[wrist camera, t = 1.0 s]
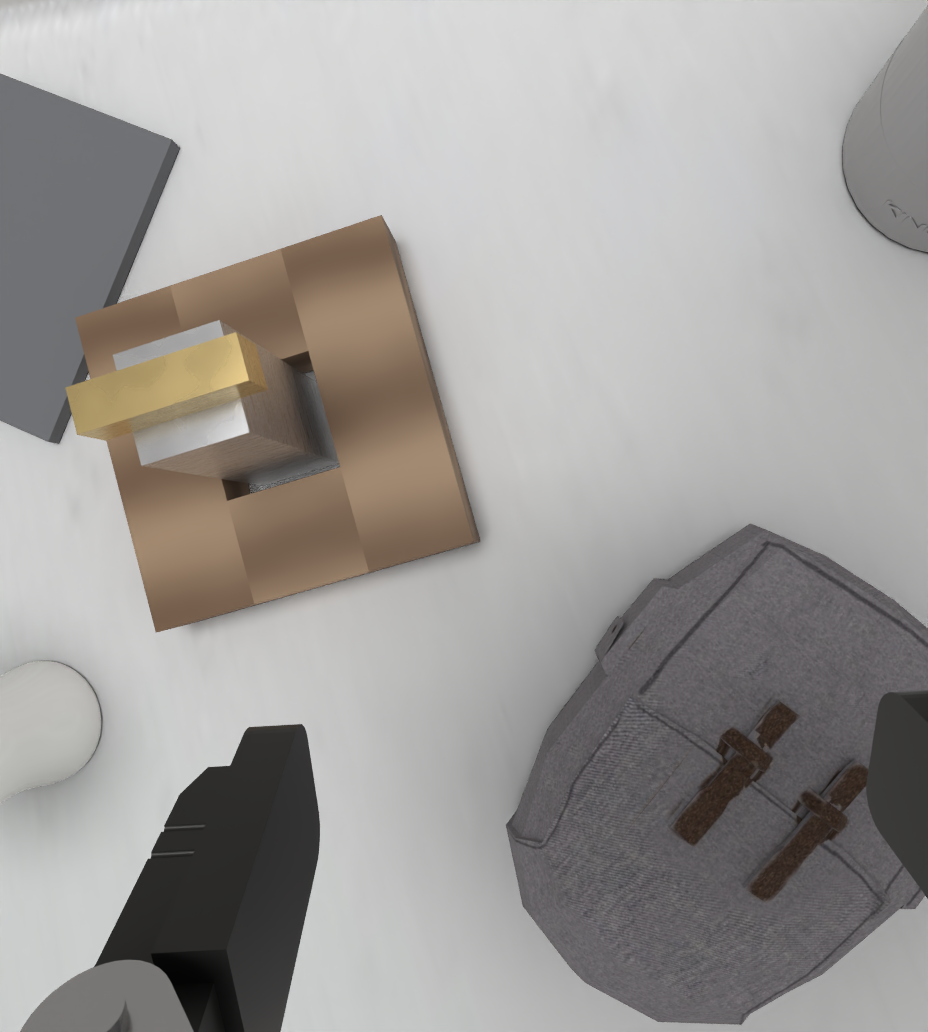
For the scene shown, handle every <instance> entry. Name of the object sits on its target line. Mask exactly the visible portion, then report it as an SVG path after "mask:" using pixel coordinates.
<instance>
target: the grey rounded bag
mask: <svg viewBox="0 0 928 1032" xmlns="http://www.w3.org/2000/svg"><path fill="white" fill-rule="evenodd" d="M595 652H596V654H597V657H598V659H599V661H598V663H597V664H596V665H595V667H594V668H593V669H592V671H591V672H590V673H589V675H588V676H587V677H586V679H585V680H584V681H583V683H582V684H581V685H580V687H579V688H578V689H577V691H576V692H575V693H574V695H573V696H572V697H571V699H570V700H569V701H568V703H567V704H566V705H565V707H564V708H563V709H562V711H561V712H560V713H559V715H558V716H557V717H556V719H555V720H554V721H553V723H552V724H551V725H550V727H549V728H548V729H547V732H546V734H545V737H544V740H543V742H542V745H541V748H540V750H539V753H538V756H537V758H536V761H535V764H534V766H533V769H532V772H531V774H530V777H529V780H528V783H527V785H526V788H525V791H524V793H523V796H522V799H521V801H520V804H519V807H518V809H517V811H516V812H515V814H514V815H513V816H512V818H511V819H510V820H509V822H508V823H507V824H506V827H507V832H508V837H509V842H510V846H511V851H512V856H513V861H514V866H515V870H516V875H517V880H518V885H519V889H520V894H521V899H522V904H523V907H524V908H525V909H526V911H527V912H528V913H529V915H530V916H531V917H532V919H533V920H534V921H535V922H536V924H537V925H538V926H539V928H540V929H541V930H542V931H543V933H544V934H545V935H546V937H547V938H548V939H549V940H550V942H551V943H552V944H553V946H554V947H555V948H556V950H557V951H558V952H559V953H560V955H561V956H562V957H563V959H564V960H565V961H566V962H567V964H568V965H569V966H570V968H571V969H572V970H573V971H574V972H575V973H576V974H577V975H578V976H579V977H580V978H581V979H582V980H583V981H584V982H585V983H587V984H589V985H591V986H592V987H594V988H596V989H598V990H600V991H602V992H604V993H606V994H607V995H609V996H611V997H613V998H615V999H617V1000H619V1001H620V1002H622V1003H624V1004H626V1005H628V1006H630V1007H632V1008H633V1009H635V1010H637V1011H639V1012H641V1013H643V1014H645V1015H647V1016H648V1017H650V1018H652V1019H654V1020H656V1021H658V1022H680V1023H711V1024H742V1023H743V1022H744V1020H745V1019H746V1018H747V1017H748V1015H749V1014H750V1013H752V1012H754V1011H756V1010H757V1009H759V1008H761V1007H763V1006H764V1005H766V1004H768V1003H769V1002H771V1001H773V1000H775V999H776V998H778V997H780V996H782V995H783V994H785V993H787V992H789V991H791V990H793V989H794V988H796V987H798V986H800V985H802V984H804V983H806V982H808V981H810V980H812V979H814V978H816V977H818V976H820V975H822V974H823V973H824V972H826V971H827V970H828V969H829V968H830V967H832V966H833V965H834V964H835V963H836V962H837V961H839V960H840V959H841V958H842V957H843V956H844V955H846V954H847V953H848V952H849V951H850V950H852V949H853V948H854V947H855V946H856V945H857V944H859V943H860V942H861V941H862V940H863V939H865V938H866V937H867V936H868V935H869V934H870V933H872V932H873V931H874V930H875V929H876V928H877V927H879V926H880V925H881V924H882V923H883V922H885V921H886V920H887V919H888V918H889V917H890V916H892V915H893V914H894V913H895V912H896V911H897V910H899V909H900V908H901V909H915V908H916V907H917V906H918V904H919V903H920V902H921V900H922V899H923V897H924V896H925V894H924V893H923V891H922V890H921V889H920V887H919V886H918V885H917V883H916V882H915V880H914V879H913V878H912V876H911V875H910V874H909V872H908V871H907V869H906V868H905V867H904V865H903V864H902V863H901V861H900V860H899V858H898V857H897V856H896V854H895V853H894V852H893V850H892V849H891V848H890V846H889V845H888V843H887V842H886V841H885V839H884V838H883V837H882V835H881V834H880V832H879V831H878V829H877V827H876V825H875V823H874V821H873V819H872V816H871V813H870V810H869V806H868V801H867V793H866V783H867V776H868V769H869V763H870V756H871V750H872V743H873V737H874V730H875V724H876V717H877V711H878V706H879V702H880V700H881V698H882V697H883V696H884V695H885V694H886V693H888V692H904V691H921V690H928V628H926V627H925V626H924V625H923V624H922V623H921V622H919V621H918V620H917V619H916V618H915V617H913V616H912V615H911V614H910V613H909V612H907V611H906V610H905V609H904V608H903V607H901V606H900V605H899V604H898V603H897V602H895V601H894V600H893V599H891V598H890V597H888V596H887V595H885V594H883V593H882V592H880V591H879V590H877V589H876V588H874V587H873V586H871V585H870V584H868V583H866V582H865V581H863V580H862V579H860V578H859V577H857V576H856V575H854V574H852V573H851V572H849V571H848V570H846V569H845V568H843V567H842V566H840V565H839V564H837V563H835V562H834V561H832V560H831V559H829V558H828V557H826V556H824V555H822V554H819V553H817V552H815V551H813V550H810V549H808V548H806V547H804V546H801V545H799V544H797V543H795V542H792V541H790V540H788V539H785V538H783V537H781V536H779V535H776V534H774V533H772V532H770V531H767V530H765V529H762V528H760V527H757V526H755V525H752V524H749V525H748V526H746V527H745V528H743V529H742V530H740V531H739V532H737V533H736V534H734V535H733V536H731V537H730V538H729V539H727V540H726V541H724V542H723V543H721V544H720V545H718V546H717V547H715V548H714V549H712V550H711V551H709V552H708V553H706V554H705V555H703V556H702V557H700V558H699V559H698V560H696V561H695V562H693V563H692V564H690V565H689V566H687V567H686V568H684V569H683V570H681V571H680V572H678V573H677V574H675V575H674V576H672V577H671V578H670V579H668V580H664V579H653V580H652V582H651V583H650V584H649V585H648V586H647V588H646V589H645V590H644V591H643V592H642V594H641V595H640V596H639V597H638V598H637V600H636V601H635V602H634V603H633V604H632V606H631V607H630V608H629V609H628V610H627V612H626V613H625V614H624V615H623V616H622V617H621V619H620V618H619V617H618V616H617V618H616V619H615V620H614V622H613V623H612V625H611V626H610V628H609V629H608V631H607V632H606V634H605V635H604V637H603V638H602V640H601V641H600V643H599V644H598V646H597V647H596V649H595Z"/></svg>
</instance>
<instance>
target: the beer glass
mask: <svg viewBox="0 0 928 1032" xmlns="http://www.w3.org/2000/svg"><path fill="white" fill-rule="evenodd" d="M100 733H101V712H100V707H99V703H98V700H97V698H96V695H95V693H94V691H93V689H92V688H91V686H90V685H89V684H88V682H87V681H86V680H85V679H84V678H83V677H82V676H81V675H80V674H79V673H78V672H76V671H75V670H73V669H72V668H70V667H68V666H66V665H64V664H61V663H58V662H53V661H34V662H29V663H26V664H23V665H20V666H18V667H16V668H14V669H12V670H10V671H8V672H6V673H4V674H3V675H1V676H0V804H2V803H3V802H4V801H6V800H7V799H9V798H10V797H12V796H14V795H15V794H17V793H20V792H22V791H25V790H28V789H32V788H36V787H41V786H45V785H49V784H53V783H57V782H59V781H62V780H64V779H67V778H69V777H70V776H72V775H74V774H75V773H76V772H78V771H79V770H80V769H81V768H82V767H83V766H84V765H85V764H86V763H87V762H88V761H89V759H90V758H91V756H92V755H93V753H94V751H95V749H96V747H97V744H98V742H99V738H100Z"/></svg>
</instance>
